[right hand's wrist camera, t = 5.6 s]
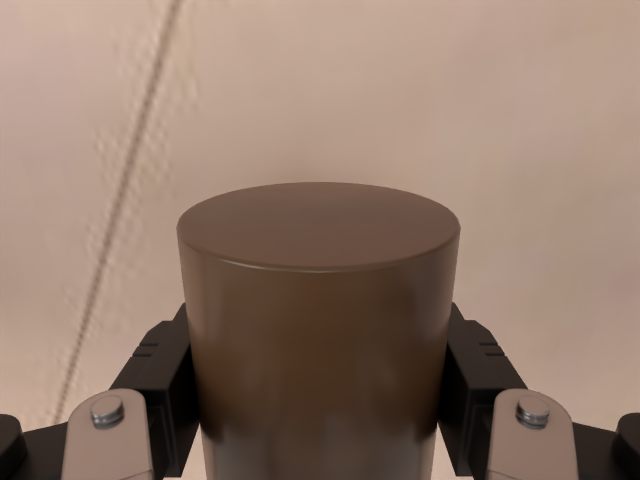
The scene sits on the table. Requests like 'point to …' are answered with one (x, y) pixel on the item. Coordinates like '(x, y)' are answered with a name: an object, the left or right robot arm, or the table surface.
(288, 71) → the table surface
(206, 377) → the rod
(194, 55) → the table surface
